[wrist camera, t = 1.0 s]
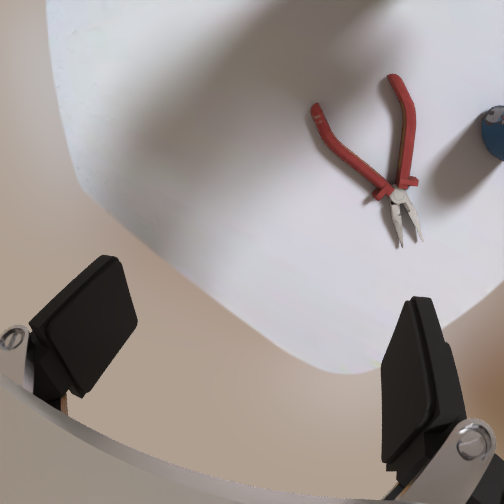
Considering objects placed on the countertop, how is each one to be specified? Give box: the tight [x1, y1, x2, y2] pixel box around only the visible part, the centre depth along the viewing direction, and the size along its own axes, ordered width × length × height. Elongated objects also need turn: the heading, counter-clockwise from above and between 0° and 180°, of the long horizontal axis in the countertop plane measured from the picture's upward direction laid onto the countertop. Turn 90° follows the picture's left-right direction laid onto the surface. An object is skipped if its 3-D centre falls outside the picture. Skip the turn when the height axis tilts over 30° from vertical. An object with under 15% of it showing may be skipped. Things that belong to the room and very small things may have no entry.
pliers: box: [311, 74, 423, 248], centre depth 33 cm, size 12×21×3 cm, turn 28°
